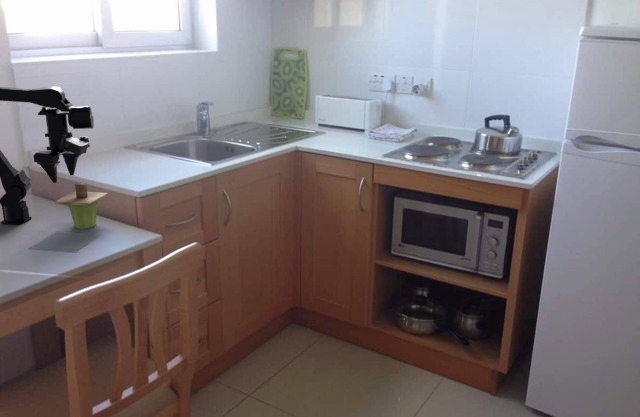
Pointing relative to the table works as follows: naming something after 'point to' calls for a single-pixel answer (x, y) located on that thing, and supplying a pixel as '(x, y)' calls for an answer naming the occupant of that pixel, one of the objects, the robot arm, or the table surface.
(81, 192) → the lid
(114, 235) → the table surface
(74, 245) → the mat
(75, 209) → the plant pot
